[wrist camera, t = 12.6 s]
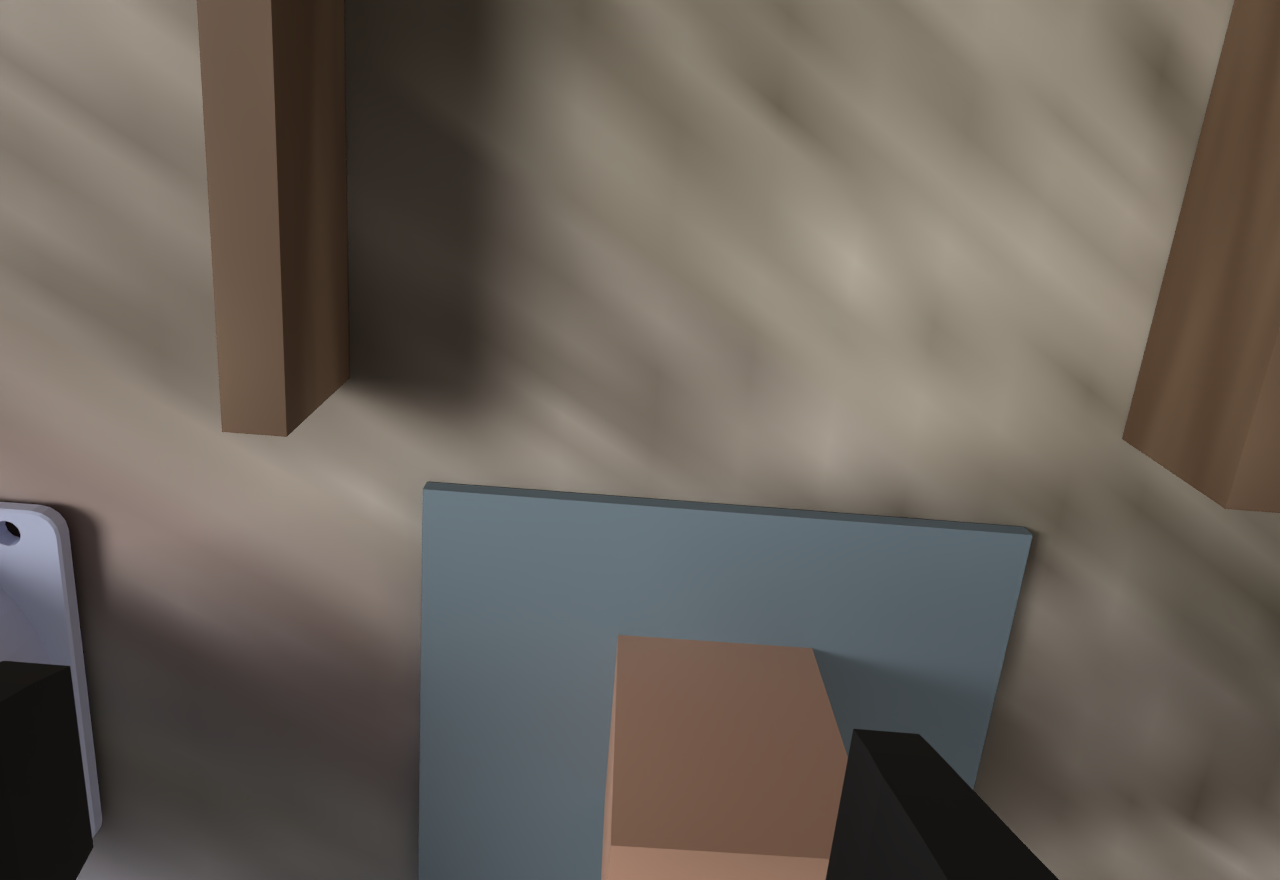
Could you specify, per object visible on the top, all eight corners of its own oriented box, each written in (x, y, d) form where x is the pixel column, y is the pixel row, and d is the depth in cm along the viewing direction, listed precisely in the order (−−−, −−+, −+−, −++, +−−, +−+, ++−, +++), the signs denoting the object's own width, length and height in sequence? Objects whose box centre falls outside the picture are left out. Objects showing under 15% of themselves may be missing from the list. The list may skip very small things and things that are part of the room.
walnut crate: (296, 374, 18) (222, 431, 15) (271, -396, 15) (165, -544, 11) (1171, 442, 19) (1286, 513, 16) (1371, -283, 15) (1578, -394, 12)
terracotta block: (605, 796, 21) (593, 1048, 15) (618, 634, 20) (611, 844, 14) (787, 807, 21) (842, 1062, 16) (812, 648, 20) (881, 861, 14)
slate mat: (421, 884, 22) (417, 898, 22) (426, 481, 19) (422, 489, 19) (935, 917, 23) (940, 930, 22) (1025, 526, 20) (1032, 535, 19)
